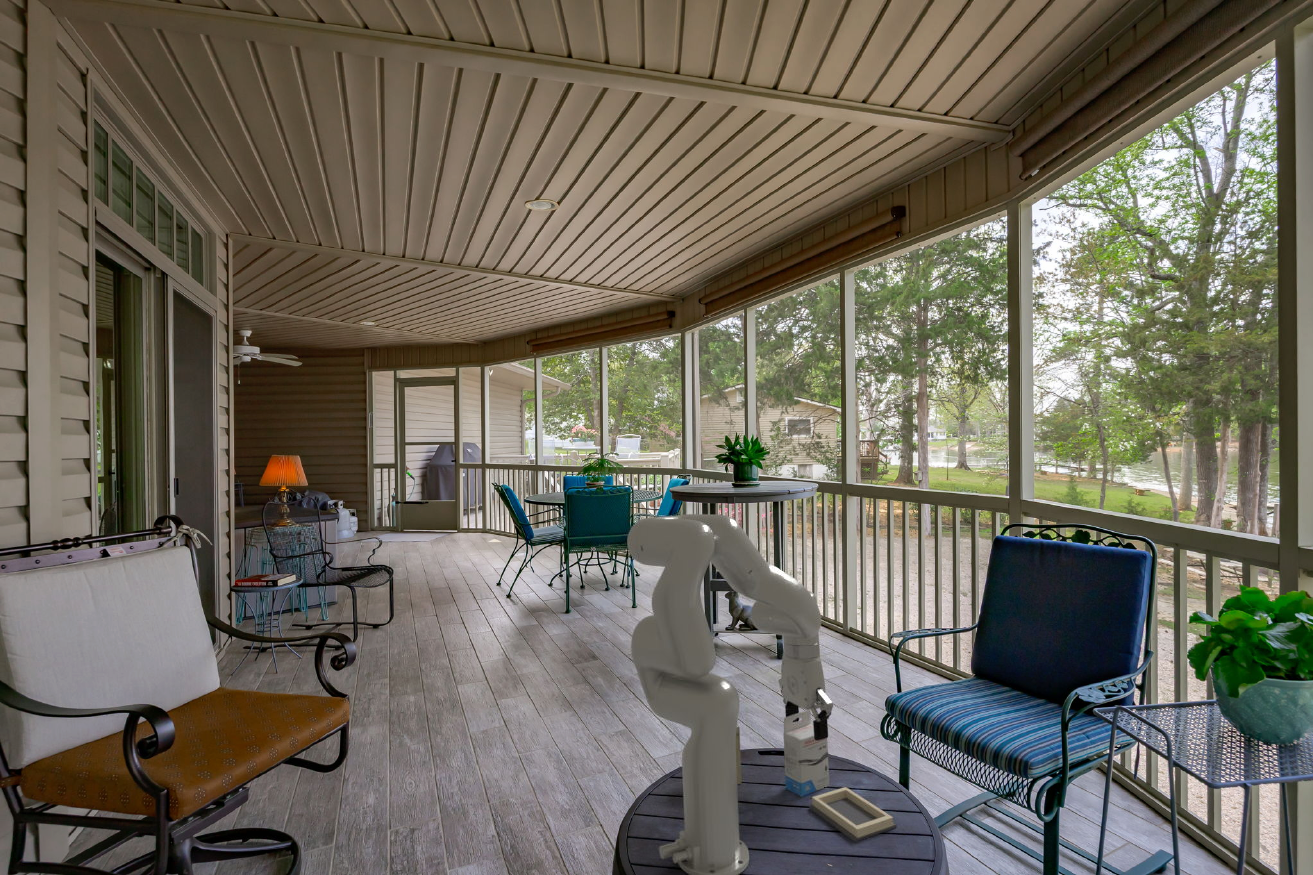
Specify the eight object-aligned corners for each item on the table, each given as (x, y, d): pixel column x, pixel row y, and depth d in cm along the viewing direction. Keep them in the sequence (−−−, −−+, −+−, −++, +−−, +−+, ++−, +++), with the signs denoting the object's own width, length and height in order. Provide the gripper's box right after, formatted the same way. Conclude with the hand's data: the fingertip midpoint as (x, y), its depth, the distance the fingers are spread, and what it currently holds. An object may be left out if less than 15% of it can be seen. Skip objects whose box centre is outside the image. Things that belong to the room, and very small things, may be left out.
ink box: (802, 798, 131) (798, 725, 132) (784, 788, 135) (781, 717, 136) (830, 785, 136) (827, 715, 137) (813, 776, 140) (809, 708, 141)
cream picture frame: (854, 841, 115) (854, 830, 115) (809, 808, 127) (808, 797, 127) (896, 827, 119) (896, 816, 119) (849, 796, 131) (848, 786, 131)
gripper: (764, 642, 143) (768, 719, 143) (813, 663, 128) (818, 750, 127) (791, 637, 147) (796, 712, 146) (842, 656, 131) (848, 741, 130)
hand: (806, 730), depth 137 cm, fingers open, 9 cm apart
